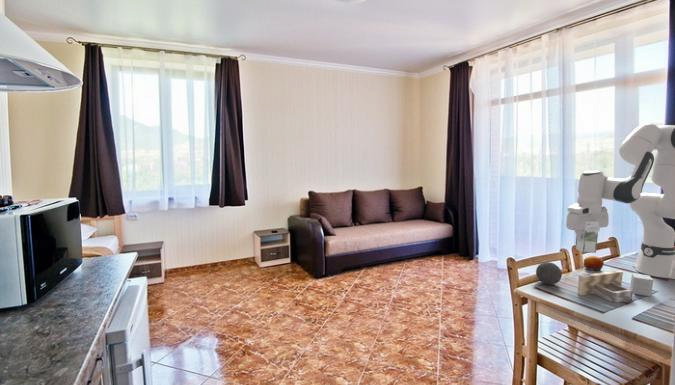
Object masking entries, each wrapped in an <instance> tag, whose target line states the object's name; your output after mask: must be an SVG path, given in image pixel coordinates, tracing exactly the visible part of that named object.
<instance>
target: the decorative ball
mask: <svg viewBox="0 0 675 385" xmlns="http://www.w3.org/2000/svg"><path fill="white" fill-rule="evenodd" d="M562 274H563V273H562V270H561V268H560V267H559V266H558V265H557V264H555V263H553V262H549V261H545V262H541V263H540V264H538V266H537V267H536V270H535V275H536V278H537V279H538V280H539V281H540V282H541V283H543V284H545V285H551V286H552V285H556V284H557V283H559V282H560V281H561V279H562Z"/></svg>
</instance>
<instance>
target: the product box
mask: <svg viewBox="0 0 675 385" xmlns="http://www.w3.org/2000/svg"><path fill="white" fill-rule="evenodd" d="M653 283H654V279H653V278H652V277H651V275H647V274H643V273H633V272H632V273H631V280H630V287H629V289H631V290H633V293H632V295H640V296H647V297H652V294H653V286H654V284H653Z"/></svg>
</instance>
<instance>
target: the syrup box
mask: <svg viewBox="0 0 675 385" xmlns="http://www.w3.org/2000/svg"><path fill="white" fill-rule="evenodd" d="M598 229H599V221H597V220H592V221H586V228H585V229H583V230H582V232H581V235H583V239H577V235H576V234H575V235H576V236H575V237H576V238H575V246H574V247H575V248H574V249H575V250H577V251H579V252H581V253H583V254H585V253H587V254H589V253H590V254H591V253H594V254H595V253H597V249H598V248H597V245H598V237H599V236H598V235H599V232H598Z"/></svg>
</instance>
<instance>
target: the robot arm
mask: <svg viewBox="0 0 675 385" xmlns="http://www.w3.org/2000/svg"><path fill="white" fill-rule="evenodd" d="M654 150H655V151H657V152H656V154H655V155H654V154H653V151H654ZM618 153H619V156H620V158H622V159H623V160H624V162H626V163H628V164H630V165H633V166H634V168H633V170H632V172H631V174H630V175H629V177H625V178H617V177H608V176H606V175H604V173H603V171H601V170H596V169H595V170H586V171H583V172H582V173H581V174H580V177H579V182H578V186H577V189H578V190H577V191H578V198H577V201H576V203H574V204H571V205H570V206H568V207H567V212H568V213H567V215H566V222H565V226H566V229H567V230H570V231H574V233H575V235H577V239H583V235H581V232H582V230H583V229H585V228H586V221H592V220H597V221H599V229H598V233H599V232H600V230H601V229H602V228H607V227H608V225H609V222H610V221H609V212H608V208H607V207H605V206H603V200H606V201H614V202H619V203H623V204H629V207H630V209H631V210H632V211H633V212H634V213H635V214H636V215H637V216H638V217H639V218H640V220H641V223H642V227H643V237H642V242H641V244H640V251H638V252H637V256H636V261H635V264H632V265H633V266H632V267H633V268H635V269H634V270H635V271H637V272H639V273H640V274H643V275H649V276H650V277H651V276H652V277H657V278H664V279H665V278H666V279H672V280H675V230H674V228H673V227H672V226H670V225H669V224H667V223H666V221H665V220H664V218H665V219H671V220H675V125H674V124H672V125H671V124H669V125H667V124H665V125H656V124H653V123H643V124H641V125H639V126H637V127H636V128H635V129H634V130H633V131H632V132H631V133H629V135H628V136H627V137H626V138H625V140H623V142H622V143H621V144H620V147H619V149H618ZM651 170H652V175H651V181H652V183H654V185H657V186H659V187H660V188H661V190H662V191H663V193H656V192H655V193H653V192H643V187H644V185H645V183H646V181H647V179H648V176H649V175H650V172H651Z"/></svg>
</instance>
